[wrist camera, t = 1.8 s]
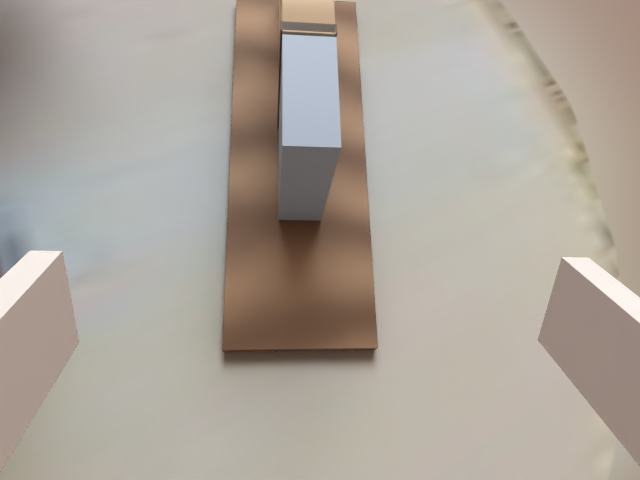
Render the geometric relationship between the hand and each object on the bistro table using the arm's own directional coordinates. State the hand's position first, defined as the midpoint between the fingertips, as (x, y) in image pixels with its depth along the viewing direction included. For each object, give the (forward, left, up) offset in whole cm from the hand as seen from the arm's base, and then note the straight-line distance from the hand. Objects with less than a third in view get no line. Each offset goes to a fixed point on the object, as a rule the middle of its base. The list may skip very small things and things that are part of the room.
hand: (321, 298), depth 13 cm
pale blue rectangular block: (-9, +10, -19) cm, 23 cm away
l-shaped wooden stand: (-10, +11, -20) cm, 25 cm away
